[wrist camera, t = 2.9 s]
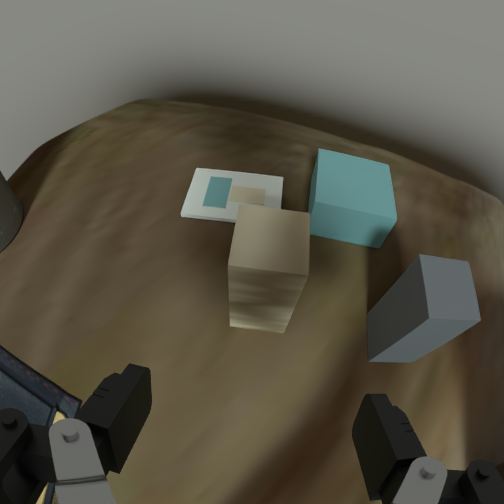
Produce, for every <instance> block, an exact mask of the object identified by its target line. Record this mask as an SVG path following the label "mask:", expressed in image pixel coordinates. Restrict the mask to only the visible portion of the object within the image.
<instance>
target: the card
mask: <svg viewBox="0 0 504 504" xmlns="http://www.w3.org/2000/svg"><path fill="white" fill-rule="evenodd" d="M282 187H283V177H278V176H270V175H262V174H254V173H245V172H235V171H226V170H215V169H204V168H196V171H195V173H194V176H193V179H192V182H191V185H190V188H189V191H188V193H187V196H186V199H185V202H184V205H183V208H182V211H181V217H189V218H198V219H206V220H215V221H224V222H232V223H236V218H237V213H238V208H239V204H243V205H251V206H259V207H267V208H275V209H281V200H282Z"/></svg>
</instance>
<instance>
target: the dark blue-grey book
mask: <svg viewBox="0 0 504 504" xmlns="http://www.w3.org/2000/svg"><path fill="white" fill-rule="evenodd" d="M81 404H82V401H80V400H78V399H77V398H75V397H73V396H71V395H69V394H68V393H66V392H65V391H64V390H62V389H61V388H59V387H58V386H57V385H55V384H54V383H52V382H51V381H49V380H48V379H46V378H45V377H43V376H42V375H40V374H39V373H37V372H36V371H34V370H33V369H31V368H30V367H28V366H27V365H26V364H24V363H23V362H21V361H20V360H19V359H17V358H16V357H14V356H13V355H12V354H10V353H9V352H8V351H6V350H5V349H4V348H3V347H1V346H0V410H2V409H5V408H15V409H18V410H20V411H22V412H23V413H24V414H25V415H26V416H27V419H28V421H29V423H32V424H37V425H43V426H52V425H53V424H54V423H55V422H56V421H58V420H61V419H66V418H73V417H74V416H75V415H76V414H77V412H78V411H79V409H80V407H81ZM54 491H55V484H53V483H47V485H46V487H45V488H44V490H43V492H42V494H41V495H40V497H39V499H38V501H37V503H36V504H51V503H52V499H53V495H54Z"/></svg>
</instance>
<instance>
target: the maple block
mask: <svg viewBox="0 0 504 504" xmlns="http://www.w3.org/2000/svg"><path fill="white" fill-rule="evenodd" d="M309 250H310V213H305V212H298V211H290V210H283V209H275V208H267V207H259V206H251V205H243V204H239V208H238V213H237V218H236V224H235V229H234V234H233V239H232V245H231V250H230V255H229V261H228V287H229V312H230V326H232V327H239V328H247V329H254V330H263V331H271V332H280V333H284V331H285V329H286V327H287V325H288V323H289V320H290V318H291V316H292V313H293V311H294V309H295V307H296V304H297V302H298V300H299V297H300V295H301V293H302V290H303V288H304V286H305V283H306V281H307V279H308V276H309Z"/></svg>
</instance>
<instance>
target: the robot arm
mask: <svg viewBox="0 0 504 504" xmlns="http://www.w3.org/2000/svg"><path fill="white" fill-rule="evenodd" d="M22 219H23V208H22V206H21V204H20V202H19V201H18V199H17V198H16V196H15V194H14V193H13V191H12V190H11V188H10V186H9V185H8V183H7V181H6V180H5V178H4V176H3V174H2V173H1V171H0V251H2V250H3V249H4V248H5V247H6V246H7V245H8V244H9V243H10V242H11V240H12V239H13V238H14V236H15V235H16V233H17V231H18V229H19V227H20V225H21V222H22ZM151 405H152V393H151V375H150V369H149V368H147V367H142V366H138V365H134V364H129V365H128V366H127V367H126V368H125V370H124V371H123V372H122V374H118V373H114V374H112V375H110V376H108V377H106V378H104V380H103V381H102V382H101V383H100V385H99V386H98V388H96V390H95V391H94V392H93V394H92V395H91V396H90V397H89V398H88V400H87V401H86V402H85V403H84V405H83V406H82V407H81V409H80V410H79V411H78V412H77V414H76V415H75V416H74V417H73V418H66V419H61V420H58V421H56V422H55V423H54V424H53V425H52V426H43V425H37V424H32V423H29V421H28V419H27V416H26V415H25V414H24V413H23V412H22V411H20V410H18V409H15V408H5V409H2V410H0V504H36V503H37V501H38V499H39V497H40V495H41V494H42V492H43V490H44V488H45V487H46V485H47V483H53V484H55V490H56V494H57V498H58V502H59V504H117V503H116V501H115V499H114V496H113V494H112V491H111V489H110V486H109V484H108V481H107V479H106V476H107V474H108V472H109V470H110V471H112V472H115V473H118V474H120V472H121V470H122V468H123V465H124V463H125V461H126V459H127V457H128V455H129V453H130V451H131V449H132V447H133V445H134V443H135V441H136V439H137V437H138V435H139V433H140V431H141V429H142V427H143V425H144V423H145V421H146V419H147V417H148V415H149V413H150V410H151ZM352 438H353V441H354V445H355V448H356V452H357V455H358V459H359V462H360V466H361V470H362V473H363V477H364V481H365V484H366V488H367V492H368V495H369V499H370V501H373V500H382V504H504V482H503V480H502V478H501V476H500V474H499V473H498V471H497V469H496V468H495V467H494V466H493V465H492V464H491V463H489V462H487V461H483V460H478V461H474V462H472V463H471V464H470V465H469V466H468V467H467V469H466V470H465V471H459V470H447V469H446V467H445V465H444V464H443V463H442V462H441V461H439V460H438V459H435V458H433V457H427V455H426V453H425V451H424V449H423V447H422V445H421V443H420V441H419V439H418V437H417V435H416V433H415V432H414V430H413V428H412V426H411V425H410V422H409V420H408V418H407V416H406V414H405V413H404V412H403V411H402V410H400V409H399V408H398V407H397V406H392V405H391V403H390V401H389V399H388V397H387V395H386V394H366V395H365V396H364V398H363V401H362V403H361V406H360V408H359V411H358V413H357V416H356V418H355V421H354V423H353V428H352Z"/></svg>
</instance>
